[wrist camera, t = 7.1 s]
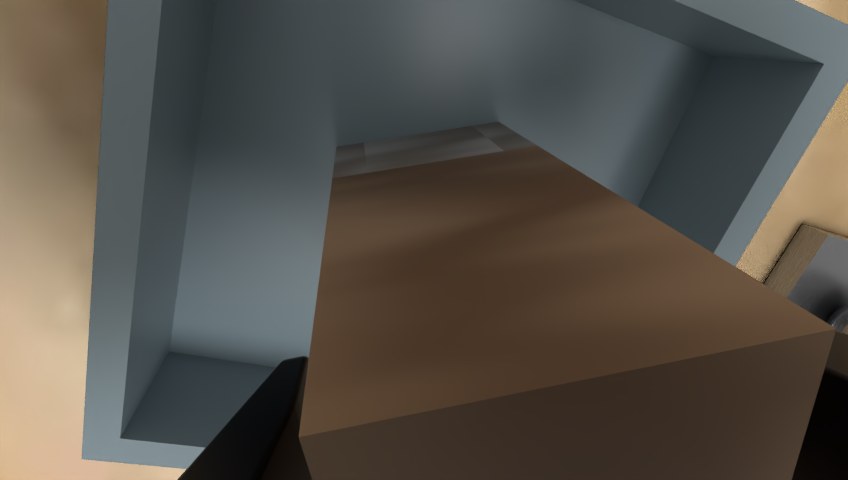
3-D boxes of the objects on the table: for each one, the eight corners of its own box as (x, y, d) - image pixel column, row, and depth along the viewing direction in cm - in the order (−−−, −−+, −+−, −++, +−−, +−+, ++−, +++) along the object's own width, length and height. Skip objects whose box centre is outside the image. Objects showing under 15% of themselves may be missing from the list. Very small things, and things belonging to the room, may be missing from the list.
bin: (734, 35, 14) (874, 36, 10) (542, 413, 19) (588, 506, 15) (207, -186, 10) (125, -307, 6) (146, 356, 15) (81, 459, 11)
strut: (498, 121, 13) (835, 328, 4) (506, 264, 15) (747, 626, 6) (336, 147, 13) (298, 437, 4) (365, 290, 15) (389, 716, 5)
